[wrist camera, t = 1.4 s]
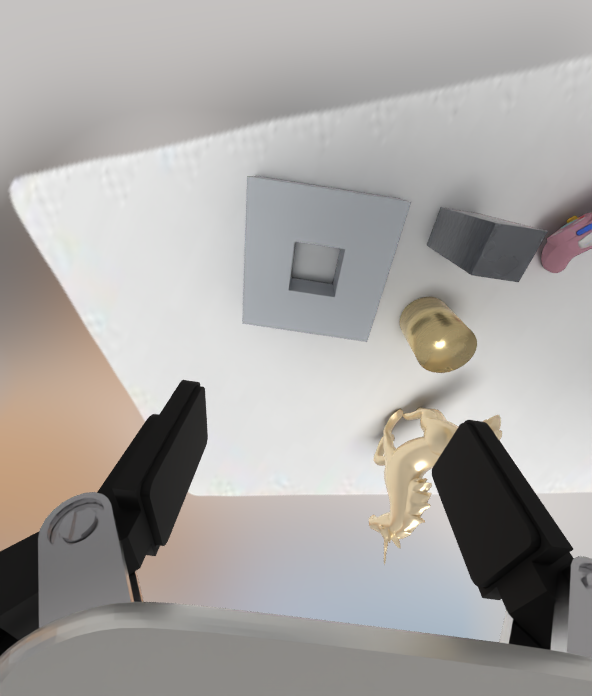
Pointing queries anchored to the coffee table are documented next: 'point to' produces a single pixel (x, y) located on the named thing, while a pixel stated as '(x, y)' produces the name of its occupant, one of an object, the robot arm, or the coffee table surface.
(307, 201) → the socket block
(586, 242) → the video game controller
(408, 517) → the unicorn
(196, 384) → the robot arm
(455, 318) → the round bit
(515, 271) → the square bit
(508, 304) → the coffee table surface
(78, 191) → the coffee table surface
